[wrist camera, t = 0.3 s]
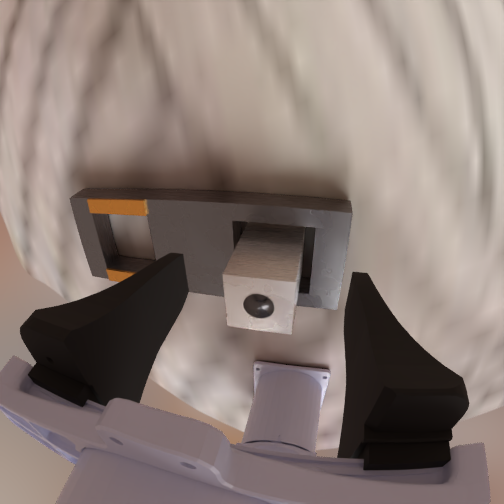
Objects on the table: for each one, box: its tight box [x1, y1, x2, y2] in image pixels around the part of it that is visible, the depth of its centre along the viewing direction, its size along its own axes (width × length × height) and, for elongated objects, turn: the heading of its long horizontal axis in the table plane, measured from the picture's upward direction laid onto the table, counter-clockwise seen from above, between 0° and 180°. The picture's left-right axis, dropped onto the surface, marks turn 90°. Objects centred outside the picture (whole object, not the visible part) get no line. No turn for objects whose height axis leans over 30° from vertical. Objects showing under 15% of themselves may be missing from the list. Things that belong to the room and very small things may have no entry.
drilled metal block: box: [222, 222, 305, 335], centre depth 21 cm, size 4×4×7 cm
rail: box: [70, 189, 352, 310], centre depth 24 cm, size 8×22×2 cm, turn 92°
